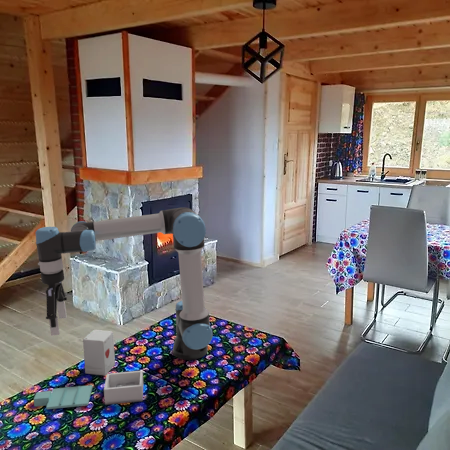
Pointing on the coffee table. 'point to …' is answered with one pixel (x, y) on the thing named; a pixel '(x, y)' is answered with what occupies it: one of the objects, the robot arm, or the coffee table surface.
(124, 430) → the coffee table surface
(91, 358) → the supplement box
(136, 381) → the tub
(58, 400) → the lid
